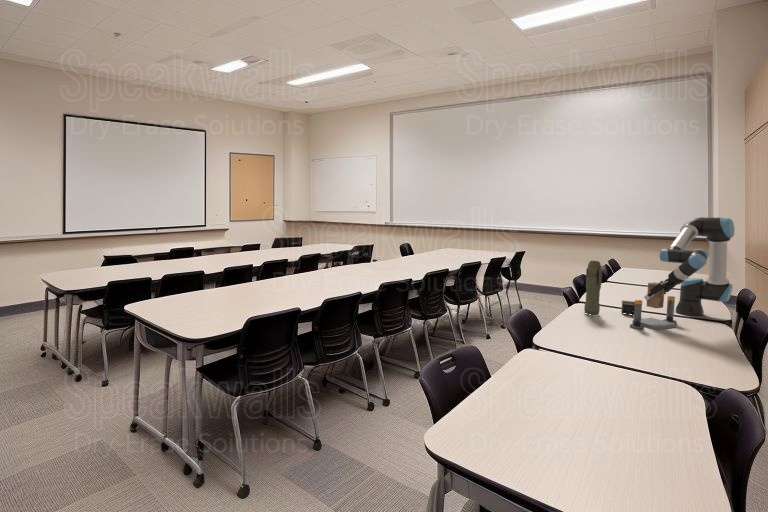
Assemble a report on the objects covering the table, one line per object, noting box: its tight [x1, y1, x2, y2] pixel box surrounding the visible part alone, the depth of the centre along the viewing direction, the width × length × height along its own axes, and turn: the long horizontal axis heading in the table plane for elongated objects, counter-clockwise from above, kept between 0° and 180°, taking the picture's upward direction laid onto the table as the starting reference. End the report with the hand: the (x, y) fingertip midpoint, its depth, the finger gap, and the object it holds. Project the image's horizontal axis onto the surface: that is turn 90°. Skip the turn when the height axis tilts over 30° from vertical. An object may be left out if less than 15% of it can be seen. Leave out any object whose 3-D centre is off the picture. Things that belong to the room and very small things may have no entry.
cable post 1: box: [629, 299, 645, 330], centre depth 253 cm, size 7×7×16 cm
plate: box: [632, 317, 676, 331], centre depth 259 cm, size 16×15×2 cm
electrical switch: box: [620, 299, 635, 316], centre depth 283 cm, size 9×5×9 cm, turn 57°
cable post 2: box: [662, 295, 677, 325], centre depth 263 cm, size 7×7×16 cm
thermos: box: [583, 260, 603, 315], centre depth 282 cm, size 9×12×35 cm
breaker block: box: [646, 281, 665, 309], centre depth 257 cm, size 6×7×14 cm
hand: (649, 298), depth 260 cm, fingers closed on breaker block, 6 cm apart
